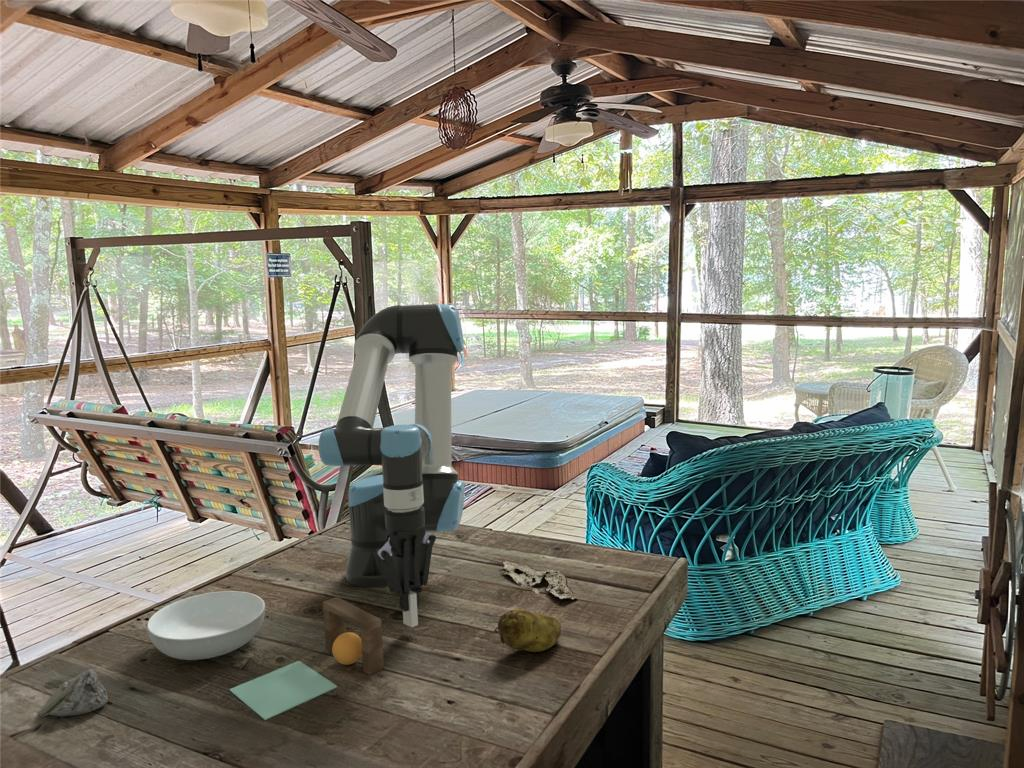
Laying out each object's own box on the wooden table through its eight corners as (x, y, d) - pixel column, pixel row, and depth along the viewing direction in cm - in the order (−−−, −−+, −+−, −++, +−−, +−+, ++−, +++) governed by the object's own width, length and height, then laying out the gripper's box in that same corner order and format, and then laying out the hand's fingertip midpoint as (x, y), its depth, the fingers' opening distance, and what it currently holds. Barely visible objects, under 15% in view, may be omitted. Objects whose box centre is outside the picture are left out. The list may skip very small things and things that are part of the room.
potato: (572, 653, 135) (571, 611, 134) (505, 666, 131) (503, 623, 130) (556, 633, 143) (555, 593, 142) (492, 645, 139) (490, 604, 138)
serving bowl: (152, 686, 128) (148, 649, 127) (148, 638, 147) (145, 605, 146) (276, 655, 138) (273, 620, 137) (258, 613, 156) (255, 582, 155)
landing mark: (229, 690, 126) (229, 689, 126) (299, 661, 135) (298, 660, 135) (265, 720, 117) (265, 719, 117) (337, 687, 126) (337, 686, 126)
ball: (324, 661, 134) (328, 630, 134) (351, 655, 137) (354, 626, 137) (340, 671, 130) (344, 640, 130) (367, 665, 134) (370, 635, 134)
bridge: (369, 675, 129) (366, 625, 128) (326, 648, 140) (322, 601, 138) (383, 668, 131) (380, 619, 130) (339, 642, 142) (336, 596, 141)
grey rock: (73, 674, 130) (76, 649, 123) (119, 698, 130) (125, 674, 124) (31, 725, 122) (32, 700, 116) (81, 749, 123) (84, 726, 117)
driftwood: (595, 580, 161) (584, 565, 159) (569, 619, 155) (558, 603, 153) (518, 562, 180) (507, 548, 178) (492, 595, 175) (481, 581, 173)
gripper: (387, 518, 134) (394, 642, 137) (443, 502, 143) (448, 618, 146) (364, 511, 139) (371, 629, 142) (419, 495, 148) (425, 607, 151)
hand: (410, 624), depth 144 cm, fingers closed
